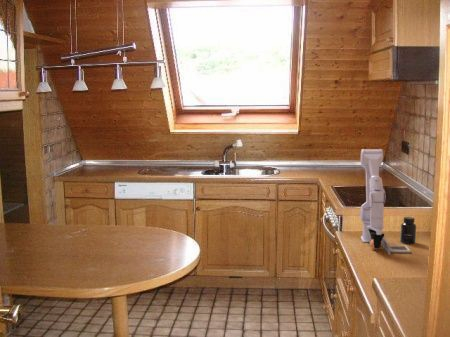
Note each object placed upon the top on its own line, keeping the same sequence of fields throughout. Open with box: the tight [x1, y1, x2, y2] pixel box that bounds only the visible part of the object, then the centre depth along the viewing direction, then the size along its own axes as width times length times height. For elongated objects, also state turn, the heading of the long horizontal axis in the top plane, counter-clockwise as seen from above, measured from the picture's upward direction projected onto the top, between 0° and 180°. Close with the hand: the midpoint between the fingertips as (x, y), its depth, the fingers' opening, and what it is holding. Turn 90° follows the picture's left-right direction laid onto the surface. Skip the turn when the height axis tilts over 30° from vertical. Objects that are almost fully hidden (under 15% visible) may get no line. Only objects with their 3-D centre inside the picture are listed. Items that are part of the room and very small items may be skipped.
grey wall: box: [381, 236, 392, 256], centre depth 235 cm, size 16×1×4 cm, turn 173°
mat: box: [390, 244, 412, 255], centre depth 235 cm, size 11×9×1 cm
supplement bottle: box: [400, 216, 417, 245], centre depth 246 cm, size 7×7×12 cm
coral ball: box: [369, 239, 382, 251], centre depth 236 cm, size 5×5×5 cm
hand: (375, 246), depth 236 cm, fingers open, 6 cm apart
